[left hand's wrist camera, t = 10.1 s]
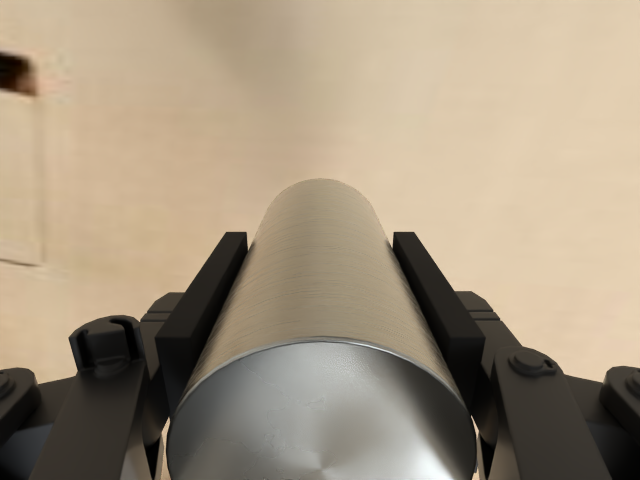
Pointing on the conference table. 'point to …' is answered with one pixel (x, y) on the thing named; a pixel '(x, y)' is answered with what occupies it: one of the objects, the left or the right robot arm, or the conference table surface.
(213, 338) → the canister
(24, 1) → the conference table surface
